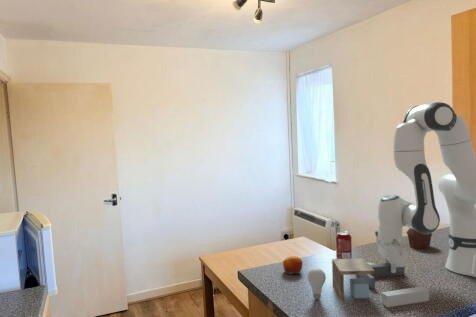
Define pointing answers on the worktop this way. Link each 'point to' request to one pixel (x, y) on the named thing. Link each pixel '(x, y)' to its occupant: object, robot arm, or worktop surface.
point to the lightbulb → (316, 281)
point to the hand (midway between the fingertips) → (390, 270)
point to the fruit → (292, 265)
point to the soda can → (343, 245)
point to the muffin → (418, 239)
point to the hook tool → (380, 273)
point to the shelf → (347, 272)
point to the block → (359, 288)
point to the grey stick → (405, 296)
